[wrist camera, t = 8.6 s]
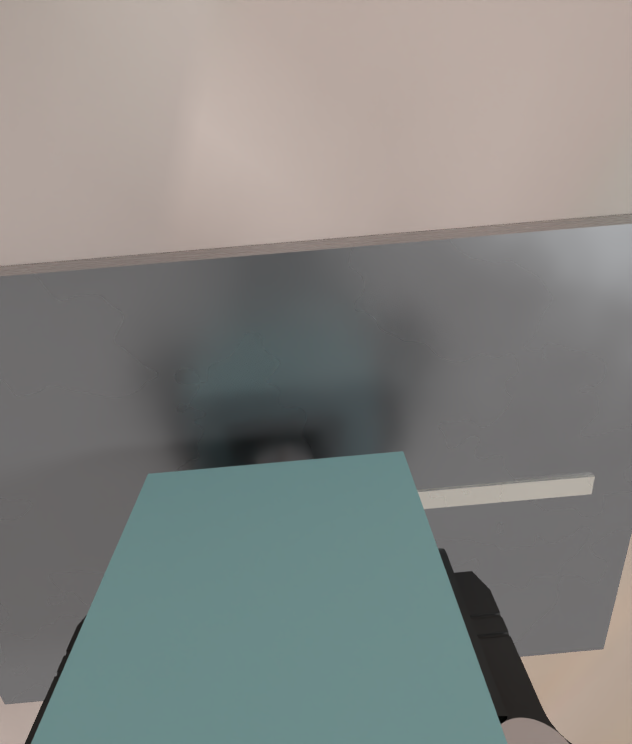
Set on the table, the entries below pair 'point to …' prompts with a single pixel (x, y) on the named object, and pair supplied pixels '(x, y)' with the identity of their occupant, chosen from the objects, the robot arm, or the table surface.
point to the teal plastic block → (275, 617)
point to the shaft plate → (327, 406)
